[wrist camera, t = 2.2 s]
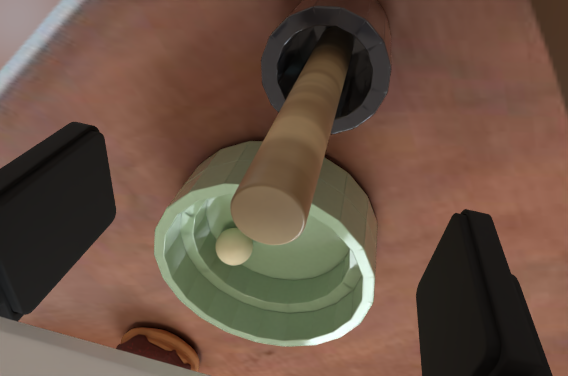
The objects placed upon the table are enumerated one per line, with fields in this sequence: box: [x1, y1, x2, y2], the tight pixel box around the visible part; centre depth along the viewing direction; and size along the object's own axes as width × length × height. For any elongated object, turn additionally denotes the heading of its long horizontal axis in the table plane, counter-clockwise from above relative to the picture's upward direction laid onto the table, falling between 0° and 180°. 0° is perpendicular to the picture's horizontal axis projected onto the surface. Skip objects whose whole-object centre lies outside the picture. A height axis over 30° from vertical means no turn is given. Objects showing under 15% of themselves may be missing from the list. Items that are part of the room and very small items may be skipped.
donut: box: [116, 328, 199, 372], centre depth 46 cm, size 10×10×4 cm
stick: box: [230, 26, 354, 245], centre depth 16 cm, size 2×2×16 cm
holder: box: [261, 0, 391, 134], centre depth 21 cm, size 6×6×6 cm
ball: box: [215, 228, 253, 265], centre depth 32 cm, size 3×3×3 cm
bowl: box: [154, 141, 378, 347], centre depth 30 cm, size 16×16×6 cm
